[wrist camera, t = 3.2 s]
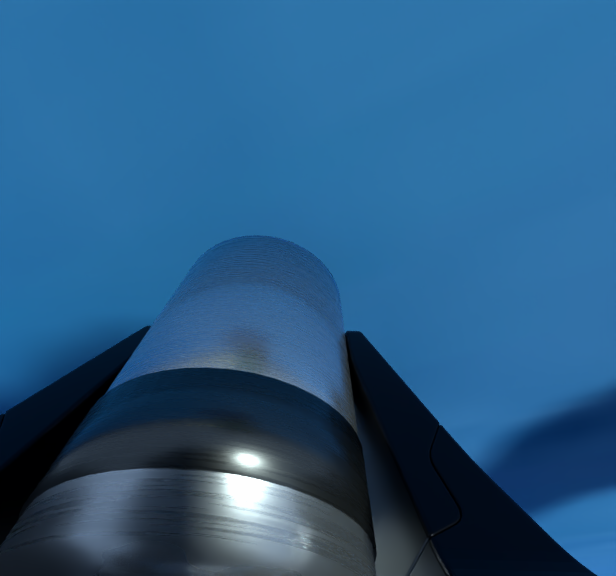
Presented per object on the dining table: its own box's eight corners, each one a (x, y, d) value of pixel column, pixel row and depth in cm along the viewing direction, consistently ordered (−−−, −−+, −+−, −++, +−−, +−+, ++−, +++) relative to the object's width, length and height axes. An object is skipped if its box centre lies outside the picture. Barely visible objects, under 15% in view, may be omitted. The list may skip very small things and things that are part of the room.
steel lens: (349, 236, 9) (426, 539, 3) (336, 365, 11) (360, 658, 6) (167, 231, 9) (-139, 525, 3) (197, 362, 11) (74, 651, 6)
